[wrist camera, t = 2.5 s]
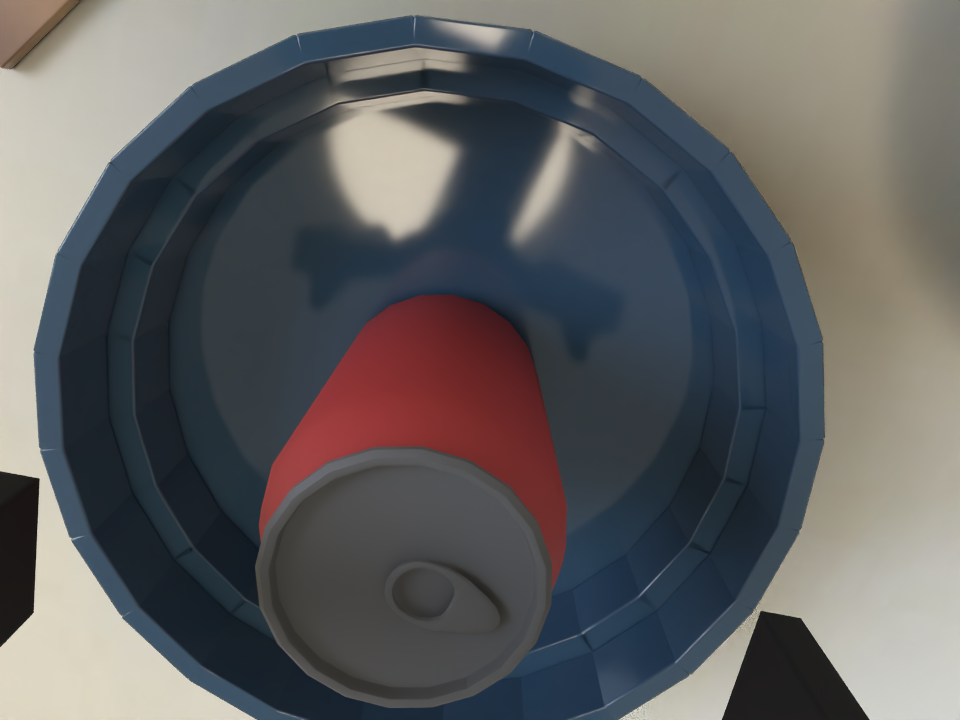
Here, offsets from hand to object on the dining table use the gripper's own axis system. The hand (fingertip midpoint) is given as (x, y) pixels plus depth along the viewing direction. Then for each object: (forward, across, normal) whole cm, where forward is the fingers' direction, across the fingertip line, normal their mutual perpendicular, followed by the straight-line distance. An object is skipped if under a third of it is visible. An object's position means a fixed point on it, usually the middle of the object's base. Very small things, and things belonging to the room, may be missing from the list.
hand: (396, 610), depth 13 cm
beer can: (+13, 0, 0) cm, 13 cm away
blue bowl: (+13, 0, 0) cm, 13 cm away
